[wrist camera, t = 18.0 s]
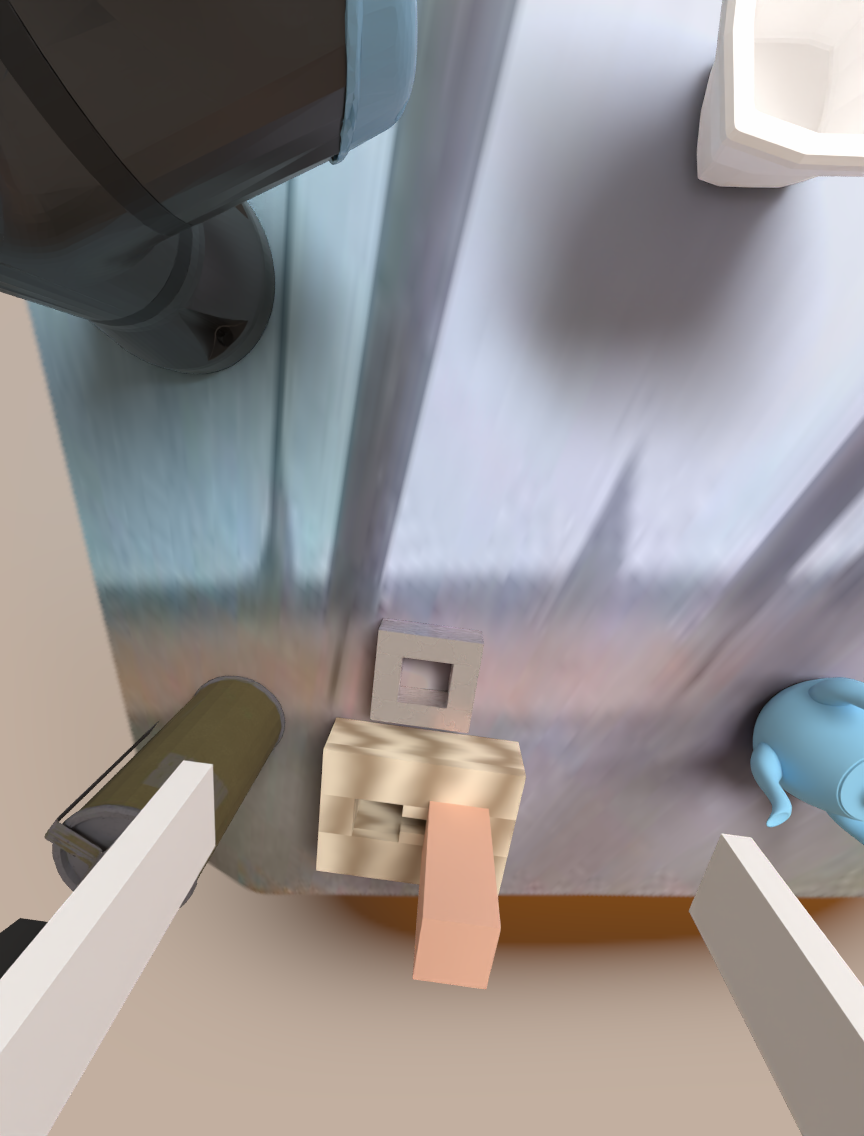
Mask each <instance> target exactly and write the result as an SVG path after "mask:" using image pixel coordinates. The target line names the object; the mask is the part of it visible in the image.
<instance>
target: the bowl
mask: <svg viewBox="0 0 864 1136" xmlns="http://www.w3.org/2000/svg"><path fill="white" fill-rule="evenodd" d="M697 174H698V179H700V180H702V181H705V182H708V183H711V184H714V185H717V186H724V187H767V188H780V187H784V186H788V185H792V184H795V183H799V182H803V181H806V180H809V179H812V178H815V177H818V176H845V177H864V0H722V6H721V14H720V23H719V31H718V40H717V49H716V58H715V61H714V64H713V67H712V69H711V72H710V76H709V80H708V84H707V88H706V92H705V97H704V101H703V105H702V109H701V115H700V124H699V134H698V143H697Z"/></svg>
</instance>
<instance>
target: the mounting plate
mask: <svg viewBox="0 0 864 1136" xmlns="http://www.w3.org/2000/svg"><path fill="white" fill-rule="evenodd" d="M525 779H526V775H525V770H524V766H523V761H522V757H521V752H520V747H519V743H518V742H514V741H507V740H499V739H492V738H485V737H477V736H470V735H463V734H455V733H448V732H440V731H433V730H426V729H418V728H411V727H403V726H396V725H389V724H381V723H374V722H366V721H359V720H352V719H344V718H336V720H335V723H334V725H333V728H332V730H331V732H330V735H329V737H328V740H327V742H326V744H325V747H324V749H323V766H322V782H321V798H320V815H319V831H318V848H317V864H316V870H317V871H325V872H332V873H339V874H346V875H354V876H361V877H368V878H376V879H383V880H390V881H397V882H405V883H412V884H419V883H420V870H421V856H422V848H423V841H424V835H425V829H426V822H427V816H428V809H429V803H430V801H435V802H442V803H450V804H457V805H464V806H472V807H479V808H486V809H489V816H490V826H491V836H492V846H493V856H494V866H495V875H496V885H497V895H498V894H499V890H500V886H501V881H502V877H503V873H504V868H505V864H506V860H507V856H508V851H509V847H510V843H511V839H512V834H513V830H514V826H515V821H516V817H517V813H518V809H519V804H520V800H521V796H522V792H523V787H524V783H525Z"/></svg>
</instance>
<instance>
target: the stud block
mask: <svg viewBox="0 0 864 1136" xmlns="http://www.w3.org/2000/svg"><path fill="white" fill-rule="evenodd" d="M500 930H501V926H500V916H499V905H498V895H497V885H496V875H495V866H494V856H493V846H492V836H491V826H490V816H489V809H486V808H479V807H472V806H464V805H457V804H450V803H442V802H435V801H430V803H429V809H428V816H427V822H426V829H425V835H424V841H423V848H422V856H421V870H420V883H419V897H418V911H417V925H416V939H415V953H414V966H413V967H414V968H413V979H415V980H423V981H430V982H437V983H445V984H452V985H459V986H466V987H474V988H481V989H486V987H487V983H488V979H489V975H490V971H491V967H492V962H493V959H494V955H495V951H496V946H497V942H498V938H499V934H500Z"/></svg>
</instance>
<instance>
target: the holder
mask: <svg viewBox="0 0 864 1136" xmlns="http://www.w3.org/2000/svg"><path fill="white" fill-rule="evenodd" d="M483 647H484V641H483V635H482V631H479V630H471V629H464V628H456V627H449V626H441V625H434V624H427V623H419V622H412V621H404V620H397V619H389V618H383V620H382V623H381V625H380V628H379V631H378V641H377V652H376V662H375V672H374V683H373V693H372V703H371V714H370V720H375V721H383V722H390V723H398V724H405V725H412V726H420V727H427V728H435V729H442V730H449V731H457V732H464V733H468V731H469V725H470V720H471V714H472V708H473V703H474V697H475V692H476V686H477V680H478V675H479V669H480V664H481V658H482V652H483ZM404 657H405V658H412V659H420V660H427V661H435V662H442V663H450V664H451V671H450V677H449V683H448V690H447V692H443V691H436V690H428V689H421V688H414V687H406V686H400V684H401V675H402V667H403V659H404Z"/></svg>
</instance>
